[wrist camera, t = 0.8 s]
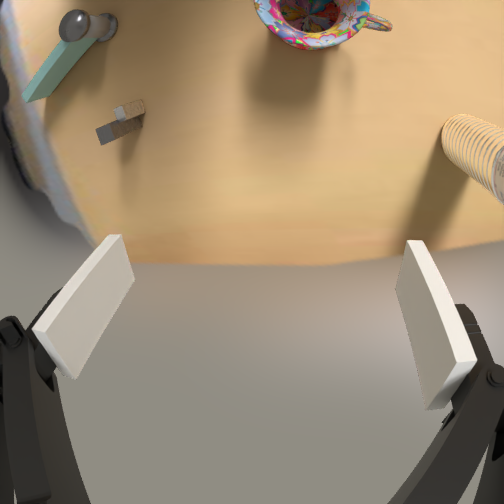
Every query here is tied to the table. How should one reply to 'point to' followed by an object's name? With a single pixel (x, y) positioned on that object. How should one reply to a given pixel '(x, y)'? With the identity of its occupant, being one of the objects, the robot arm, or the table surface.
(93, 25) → the teal rectangular bar
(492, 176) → the water bottle
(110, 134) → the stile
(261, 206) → the table surface
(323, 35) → the mug
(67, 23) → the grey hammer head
